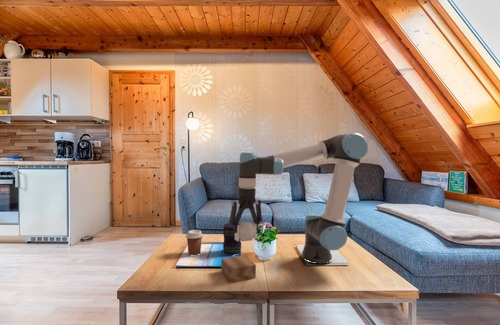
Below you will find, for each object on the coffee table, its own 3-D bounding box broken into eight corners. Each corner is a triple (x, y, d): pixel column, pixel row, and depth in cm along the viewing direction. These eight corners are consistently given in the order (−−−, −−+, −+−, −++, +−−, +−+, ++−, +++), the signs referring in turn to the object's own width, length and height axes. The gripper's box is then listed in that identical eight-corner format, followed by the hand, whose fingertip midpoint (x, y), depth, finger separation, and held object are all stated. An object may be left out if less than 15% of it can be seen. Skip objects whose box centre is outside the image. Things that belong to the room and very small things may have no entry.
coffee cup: (182, 253, 144) (182, 231, 143) (197, 249, 150) (197, 228, 149) (190, 258, 137) (190, 235, 136) (206, 254, 143) (206, 232, 142)
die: (254, 245, 113) (262, 224, 117) (237, 236, 111) (246, 215, 115) (245, 246, 120) (253, 226, 124) (229, 237, 118) (238, 218, 122)
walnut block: (245, 267, 127) (246, 255, 126) (255, 278, 115) (255, 264, 115) (221, 271, 122) (221, 258, 122) (229, 283, 111) (229, 269, 111)
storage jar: (224, 256, 140) (224, 228, 140) (221, 250, 150) (222, 223, 149) (242, 254, 142) (243, 227, 142) (239, 248, 152) (239, 222, 152)
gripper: (262, 186, 126) (261, 234, 126) (222, 187, 116) (220, 239, 116) (271, 187, 119) (269, 238, 120) (229, 189, 109) (227, 244, 110)
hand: (245, 238), depth 118 cm, fingers closed on die, 8 cm apart
